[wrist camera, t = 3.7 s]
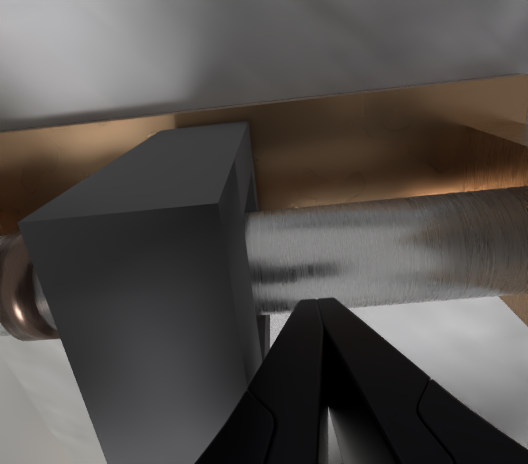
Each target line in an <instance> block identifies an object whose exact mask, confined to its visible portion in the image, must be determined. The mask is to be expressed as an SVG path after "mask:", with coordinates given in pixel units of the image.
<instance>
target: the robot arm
mask: <svg viewBox="0 0 528 464" xmlns="http://www.w3.org/2000/svg"><path fill="white" fill-rule="evenodd" d="M328 407H329V411H330V415H331V419H332V423H333V426H334V430H335V434H336V438H337V442H338V445H339V449H340V453H341V457H342V460H343V464H528V449H526V448H525V447H523V446H522V445H520V444H519V443H517V442H516V441H514V440H513V439H512V438H510V437H509V436H507V435H506V434H504V433H503V432H501V431H500V430H498V429H497V428H496V427H494V426H493V425H491V424H490V423H489V422H487V421H486V420H484V419H483V418H482V417H480V416H479V415H478V414H476V413H475V412H473V411H472V410H471V409H469V408H468V407H467V406H465V405H464V404H463V403H462V402H460V401H459V400H458V399H457V398H455V397H454V396H453V395H451V394H450V393H449V392H448V391H446V390H445V389H444V388H443V387H442V386H440V385H439V384H438V383H437V382H436V381H434V380H433V379H431V378H430V377H429V376H428V375H427V374H426V373H425V372H423V371H422V370H421V369H420V368H419V367H417V366H416V365H415V364H414V363H413V362H411V361H410V360H409V359H408V358H407V357H405V356H404V355H403V354H402V353H401V352H399V351H398V350H397V349H396V348H395V347H393V346H392V345H391V344H390V343H389V342H387V341H386V340H385V339H384V338H383V337H381V336H380V335H379V334H378V333H377V332H375V331H374V330H373V329H372V328H371V327H369V326H368V325H367V324H366V323H365V322H363V321H362V320H361V319H360V318H359V317H357V316H356V315H355V314H354V313H353V312H351V311H350V310H349V309H348V308H347V307H345V306H344V305H343V304H342V303H341V302H339V301H338V300H337V299H336V298H334V297H329V298H319V299H302V300H299V301H298V303H297V305H296V306H295V308H294V310H293V311H292V313H291V315H290V316H289V318H288V320H287V322H286V323H285V325H284V327H283V328H282V330H281V332H280V333H279V335H278V337H277V338H276V340H275V342H274V343H273V345H272V347H271V348H270V350H269V352H268V354H267V355H266V357H265V359H264V360H263V362H262V364H261V365H260V367H259V369H258V370H257V372H256V374H255V375H254V377H253V379H252V381H251V382H250V384H249V386H248V387H247V389H246V391H245V392H244V394H243V395H242V397H241V399H240V400H239V402H238V404H237V405H236V407H235V409H234V410H233V412H232V413H231V415H230V416H229V418H228V419H227V421H226V422H225V424H224V425H223V427H222V428H221V429H220V431H219V432H218V433H217V435H216V436H215V437H214V439H213V440H212V441H211V443H210V444H209V445H208V447H207V448H206V449H205V451H204V452H203V453H202V454H201V456H200V457H199V458H198V459H197V461H196V462H195V463H194V464H328Z"/></svg>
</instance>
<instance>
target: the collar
mask: <svg viewBox="0 0 528 464" xmlns="http://www.w3.org/2000/svg"><path fill="white" fill-rule="evenodd" d="M257 211H259V207H258V198H257V190H256V182H255V173H254V165H253V157H252V148H251V140H250V131H249V123H248V121H242V122H233V123H224V124H215V125H206V126H196V127H187V128H178V129H169V130H160V131H159V132H157V133H156V134H154V135H153V136H151V137H149V138H148V139H146V140H145V141H143V142H142V143H140V144H139V145H137V146H135V147H134V148H132V149H131V150H129V151H128V152H126V153H125V154H123V155H121V156H120V157H118V158H117V159H115V160H114V161H112V162H111V163H109V164H107V165H106V166H104V167H103V168H101V169H100V170H98V171H97V172H95V173H93V174H92V175H90V176H89V177H87V178H86V179H84V180H83V181H81V182H80V183H78V184H76V185H75V186H73V187H72V188H70V189H69V190H67V191H66V192H64V193H62V194H61V195H59V196H58V197H56V198H55V199H53V200H52V201H50V202H48V203H47V204H45V205H44V206H42V207H41V208H39V209H38V210H36V211H34V212H33V213H31V214H30V215H28V216H27V217H25V218H24V219H22V220H20V221H19V222H17V224H18V226H19V229H20V232H21V234H22V237H23V240H24V242H25V245H26V248H27V250H28V253H29V256H30V258H31V261H32V264H33V266H34V269H35V272H36V274H37V277H38V280H39V282H40V285H41V288H42V290H43V293H44V296H45V298H46V301H47V304H48V306H49V309H50V312H51V314H52V317H53V320H54V322H55V325H56V328H57V330H58V333H59V336H60V338H61V341H62V344H63V346H64V349H65V352H66V354H67V357H68V360H69V362H70V365H71V368H72V370H73V373H74V376H75V378H76V381H77V384H78V386H79V389H80V392H81V394H82V397H83V400H84V402H85V405H86V408H87V411H88V413H89V416H90V419H91V421H92V424H93V427H94V429H95V432H96V435H97V437H98V440H99V443H100V445H101V448H102V451H103V453H104V456H105V459H106V461H107V464H194V463H195V462H196V461H197V459H198V458H199V457H200V456H201V454H202V453H203V452H204V451H205V449H206V448H207V447H208V445H209V444H210V443H211V441H212V440H213V439H214V437H215V436H216V435H217V433H218V432H219V431H220V429H221V428H222V427H223V425H224V424H225V422H226V421H227V419H228V418H229V416H230V415H231V413H232V412H233V410H234V409H235V407H236V405H237V404H238V402H239V400H240V399H241V397H242V395H243V394H244V392H245V391H246V389H247V387H248V386H249V384H250V382H251V381H252V379H253V377H254V375H255V374H256V372H257V370H258V369H259V367H260V365H261V364H262V362H263V360H264V359H265V357H266V355H267V354H268V352H269V350H270V315H258V316H256V313H255V305H254V298H253V291H252V284H251V276H250V269H249V262H248V255H247V247H246V240H245V233H244V225H243V218H244V213H247V212H257Z"/></svg>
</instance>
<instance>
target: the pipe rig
mask: <svg viewBox="0 0 528 464" xmlns="http://www.w3.org/2000/svg"><path fill="white" fill-rule="evenodd" d="M527 113H528V74H512V75H503V76H494V77H485V78H476V79H467V80H458V81H449V82H440V83H431V84H422V85H413V86H404V87H395V88H386V89H377V90H368V91H359V92H350V93H341V94H332V95H323V96H314V97H305V98H296V99H287V100H278V101H269V102H260V103H251V104H242V105H233V106H223V107H214V108H205V109H196V110H187V111H178V112H169V113H160V114H151V115H142V116H133V117H124V118H115V119H106V120H97V121H88V122H79V123H70V124H61V125H52V126H43V127H34V128H25V129H16V130H7V131H0V336H11V335H12V336H13V337H15V338H17V339H19V340H22V341H36V340H48V339H61V338H60V336H59V333H58V330H57V328H56V325H55V322H54V320H53V317H52V314H51V312H50V309H49V306H48V304H47V301H46V298H45V296H44V293H43V290H42V288H41V285H40V282H39V280H38V277H37V274H36V272H35V269H34V266H33V264H32V261H31V258H30V256H29V253H28V250H27V248H26V245H25V242H24V240H23V237H22V234H21V232H20V229H19V226H18V224H17V222H19V221H20V220H22V219H24V218H25V217H27V216H28V215H30V214H31V213H33V212H34V211H36V210H38V209H39V208H41V207H42V206H44V205H45V204H47V203H48V202H50V201H52V200H53V199H55V198H56V197H58V196H59V195H61V194H62V193H64V192H66V191H67V190H69V189H70V188H72V187H73V186H75V185H76V184H78V183H80V182H81V181H83V180H84V179H86V178H87V177H89V176H90V175H92V174H93V173H95V172H97V171H98V170H100V169H101V168H103V167H104V166H106V165H107V164H109V163H111V162H112V161H114V160H115V159H117V158H118V157H120V156H121V155H123V154H125V153H126V152H128V151H129V150H131V149H132V148H134V147H135V146H137V145H139V144H140V143H142V142H143V141H145V140H146V139H148V138H149V137H151V136H153V135H154V134H156V133H157V132H159V131H160V130H169V129H178V128H187V127H196V126H206V125H215V124H224V123H233V122H242V121H248V123H249V131H250V140H251V148H252V157H253V165H254V173H255V182H256V190H257V198H258V207H259V211H257V212H247V213H244V218H243V225H244V233H245V240H246V247H247V255H248V262H249V269H250V276H251V284H252V291H253V298H254V305H255V313H256V316H258V315H270V314H283V313H292V311H293V310H294V308H295V306H296V305H297V303H298V301H299V300H302V299H319V298H329V297H334V298H336V299H337V300H338V301H339V302H341V303H342V304H343V305H344V306H345V307H347V308H357V307H369V306H382V305H394V304H406V303H419V302H431V301H443V300H456V299H468V298H480V297H493V296H499V297H500V298H501V299H502V300H503V301H504V302H505V303H506V304H507V306H508V307H509V308H510V309H511V310H512V311H513V312H514V313H515V314H516V315H517V316H518V317H519V318H520V319H521V320H522V321H523V322H524V323H525V324H526V325H527V326H528V125H527V124H526V120H527Z"/></svg>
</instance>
